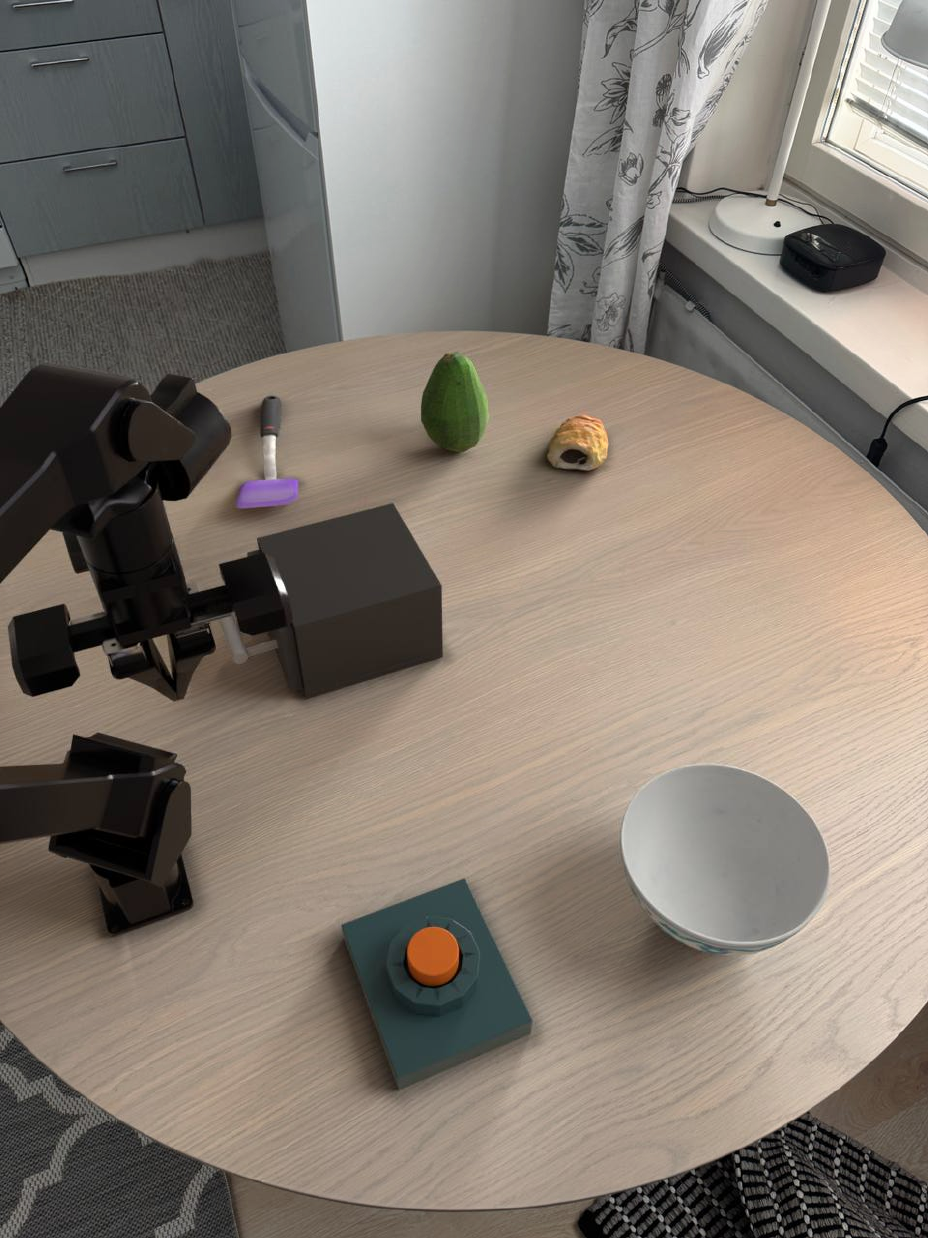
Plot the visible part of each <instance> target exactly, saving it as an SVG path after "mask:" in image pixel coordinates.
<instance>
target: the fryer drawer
mask: <svg viewBox="0 0 928 1238" xmlns="http://www.w3.org/2000/svg"><path fill="white" fill-rule="evenodd" d="M260 553H261V552H260V550H259V549H256V550H251V551H248V552H247V553H246V554H247V557H248V556H252V555H256V554H260ZM233 612H234V610H233ZM218 622H219V625H220V628H221V631H222V633H223V636H224V639H225V643H226V644H227V647H228V650H229V653H230V656H231V658H232V659H231V660H232V661H233V663H234V664H237V665H238V664H239V665H241V664H244V663H245V662H247V661H248V659H249V657H252V656H255V655H259V654H262V653H265V652H269V651H274V654H275V656H276V658H277V660H278V663H279V666H280V668H281V671H282V673H283V676H284V678H285V681H286V683H287V686H288V688H289V691H290V692H291V693H293V692H296V691H300V690H303V683H302V678H301V672H300V666H299V660H298V654H297V648H296V642H295V636H294V630H293V628H292V625H291V623H290V624H289V625H288V627H284V628H280V629H277V630H273V631H270V632H266V633H267V635H268V639H269V641H266V642H262V643H259V644H255V645H252V646H248V647H246V646H245V642H244V640H243V638H242V635H241V632H240V630H239V627H238V624H237V620H236V617H235V614H233V616H231V617H227V618H223V619H220V620H218Z"/></svg>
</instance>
